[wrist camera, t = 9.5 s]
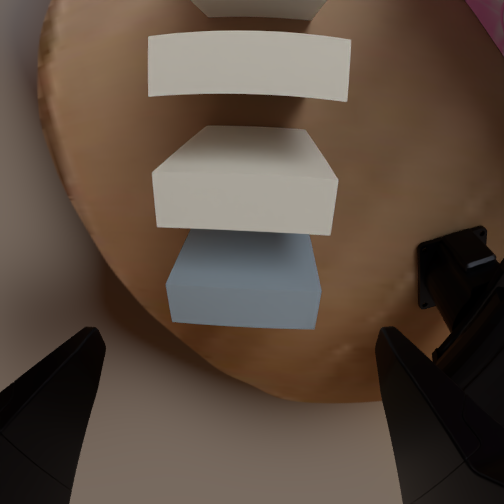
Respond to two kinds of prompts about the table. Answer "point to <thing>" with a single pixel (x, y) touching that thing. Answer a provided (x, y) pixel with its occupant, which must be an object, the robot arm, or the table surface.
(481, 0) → the gum box
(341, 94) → the tile
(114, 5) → the table surface
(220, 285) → the tile
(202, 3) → the tile
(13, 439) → the robot arm
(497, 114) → the table surface
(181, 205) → the tile
